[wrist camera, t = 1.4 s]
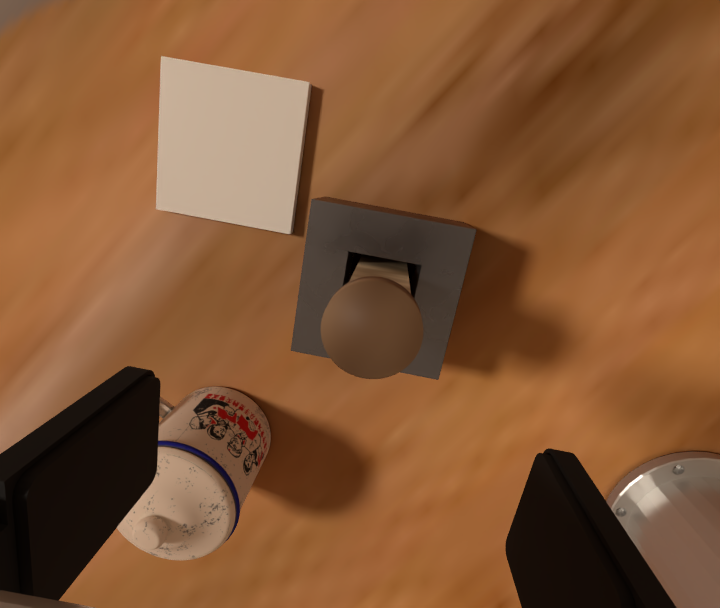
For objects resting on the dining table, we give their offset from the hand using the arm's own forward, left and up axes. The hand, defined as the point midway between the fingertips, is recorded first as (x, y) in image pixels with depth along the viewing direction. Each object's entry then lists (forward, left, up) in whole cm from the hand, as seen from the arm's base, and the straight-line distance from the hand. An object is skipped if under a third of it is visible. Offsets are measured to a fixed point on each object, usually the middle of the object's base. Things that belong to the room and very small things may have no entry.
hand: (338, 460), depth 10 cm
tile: (+12, -7, -22) cm, 26 cm away
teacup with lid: (+12, +15, -22) cm, 29 cm away
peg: (0, 0, -22) cm, 22 cm away
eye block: (0, 0, -22) cm, 22 cm away
